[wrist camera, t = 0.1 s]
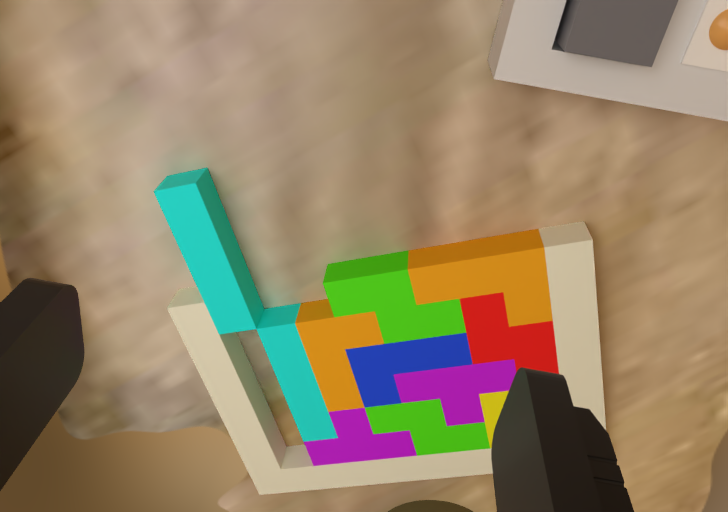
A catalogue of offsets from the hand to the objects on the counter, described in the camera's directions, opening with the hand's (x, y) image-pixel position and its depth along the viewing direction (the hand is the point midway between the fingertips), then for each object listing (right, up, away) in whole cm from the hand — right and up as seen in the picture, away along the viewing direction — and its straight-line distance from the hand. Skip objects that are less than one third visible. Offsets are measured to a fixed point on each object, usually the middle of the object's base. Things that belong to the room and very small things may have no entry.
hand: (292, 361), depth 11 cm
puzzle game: (+3, -3, +36) cm, 37 cm away
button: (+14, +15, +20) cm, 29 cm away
